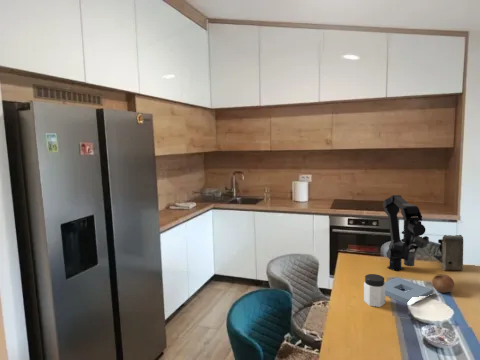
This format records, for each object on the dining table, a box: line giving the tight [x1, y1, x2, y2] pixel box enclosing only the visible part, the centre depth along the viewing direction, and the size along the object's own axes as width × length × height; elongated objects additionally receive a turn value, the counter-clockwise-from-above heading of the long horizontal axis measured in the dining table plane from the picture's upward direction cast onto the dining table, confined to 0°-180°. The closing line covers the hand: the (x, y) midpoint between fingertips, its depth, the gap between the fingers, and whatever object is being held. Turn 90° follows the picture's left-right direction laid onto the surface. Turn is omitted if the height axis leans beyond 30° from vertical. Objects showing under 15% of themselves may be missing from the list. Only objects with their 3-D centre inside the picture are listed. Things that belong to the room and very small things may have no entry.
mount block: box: [384, 276, 434, 305], centre depth 162 cm, size 18×18×2 cm
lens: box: [403, 246, 416, 267], centre depth 172 cm, size 5×5×9 cm
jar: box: [363, 273, 386, 308], centre depth 153 cm, size 9×8×12 cm
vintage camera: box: [433, 234, 464, 272], centre depth 190 cm, size 10×16×20 cm, turn 174°
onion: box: [431, 273, 455, 294], centre depth 161 cm, size 9×9×10 cm
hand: (409, 259), depth 173 cm, fingers closed on lens, 5 cm apart
